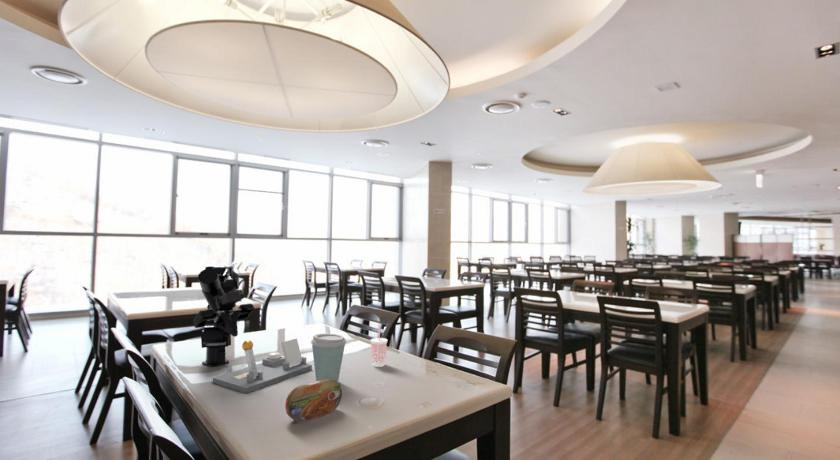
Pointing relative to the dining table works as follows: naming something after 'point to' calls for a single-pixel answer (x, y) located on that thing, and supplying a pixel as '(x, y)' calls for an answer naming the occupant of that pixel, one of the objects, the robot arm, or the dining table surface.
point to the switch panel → (261, 374)
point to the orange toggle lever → (250, 357)
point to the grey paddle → (291, 351)
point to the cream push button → (274, 356)
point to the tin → (313, 400)
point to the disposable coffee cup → (328, 355)
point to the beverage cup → (378, 351)
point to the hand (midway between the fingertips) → (236, 335)
